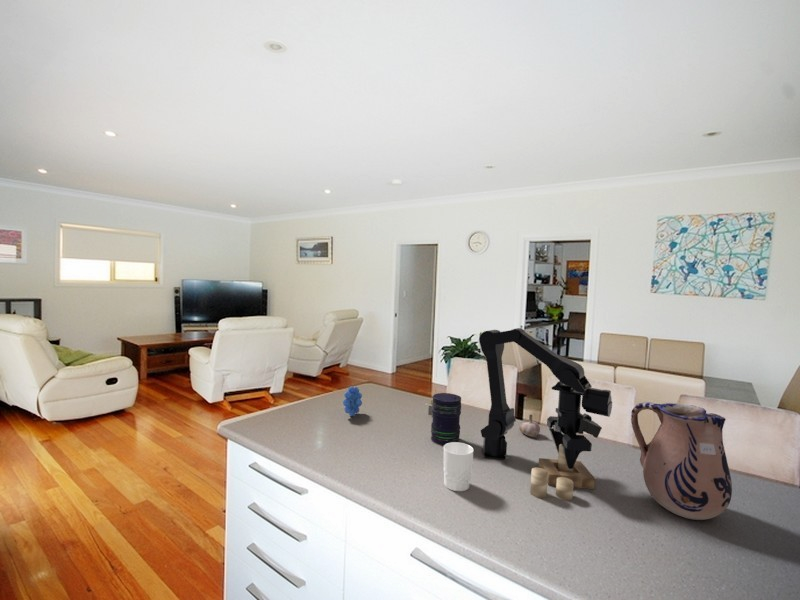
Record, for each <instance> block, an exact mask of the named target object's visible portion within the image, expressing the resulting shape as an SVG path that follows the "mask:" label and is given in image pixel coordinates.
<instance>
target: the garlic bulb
mask: <svg viewBox="0 0 800 600" xmlns="http://www.w3.org/2000/svg"><path fill="white" fill-rule="evenodd" d="M518 429H519V432H520V433H522V434H524V435H526V436H528V437H531V438H537V436H538V434H540V433H541V427H540V424H538V423H537V422H535V421H533V413H529V414H528V421H527V422H526V421H525V422H521V423H520V425H519V428H518Z"/></svg>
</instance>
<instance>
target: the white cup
mask: <svg viewBox="0 0 800 600" xmlns="http://www.w3.org/2000/svg"><path fill="white" fill-rule="evenodd" d="M474 450H475V449H474V448H473V447H472V445H469V444H467V443H464V442H460V441H459V442H451V443H447V444H445V445H444V446H443V485H444V486H445V487H446V489H449V490H451V491H454V492H465V491H467V490H468V489H470V484H471V483H470V482H471V476H472V469H473V461H474Z"/></svg>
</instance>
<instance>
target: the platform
mask: <svg viewBox="0 0 800 600" xmlns="http://www.w3.org/2000/svg"><path fill="white" fill-rule="evenodd" d="M432 403H433V398H432V399H430V401H429V402H425V405H426V406H428V410H427V411H428V412H427V413H428V415H430V416H432V417H433V413H432Z"/></svg>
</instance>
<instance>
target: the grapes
mask: <svg viewBox="0 0 800 600" xmlns="http://www.w3.org/2000/svg"><path fill="white" fill-rule="evenodd" d="M362 397H363V395H362V393H361V392H360V389H359V387H358V386H349V387H348V390H347V391H345V392H344V398H345V399H343V401H342V405H343V406H344V412H345V414H348V415H349V416H350V417H353V416H355V415H356V414H358V413H359V412H360V407H361V406H362V405H363V402H362Z"/></svg>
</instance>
